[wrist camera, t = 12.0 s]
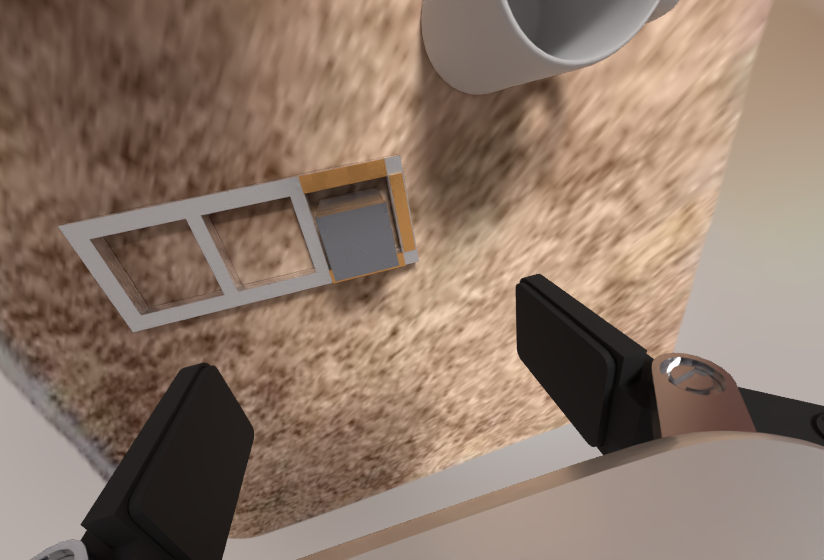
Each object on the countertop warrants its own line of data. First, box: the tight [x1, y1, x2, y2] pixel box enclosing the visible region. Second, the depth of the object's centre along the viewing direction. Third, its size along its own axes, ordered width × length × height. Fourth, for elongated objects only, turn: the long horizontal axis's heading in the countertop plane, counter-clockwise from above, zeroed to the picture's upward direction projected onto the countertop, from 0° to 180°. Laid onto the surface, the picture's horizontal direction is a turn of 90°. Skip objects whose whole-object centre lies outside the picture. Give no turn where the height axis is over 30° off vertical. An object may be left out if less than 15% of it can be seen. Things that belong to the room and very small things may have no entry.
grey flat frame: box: [58, 154, 419, 332], centre depth 24 cm, size 9×23×1 cm, turn 100°
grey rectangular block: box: [315, 187, 399, 281], centre depth 23 cm, size 4×4×6 cm
